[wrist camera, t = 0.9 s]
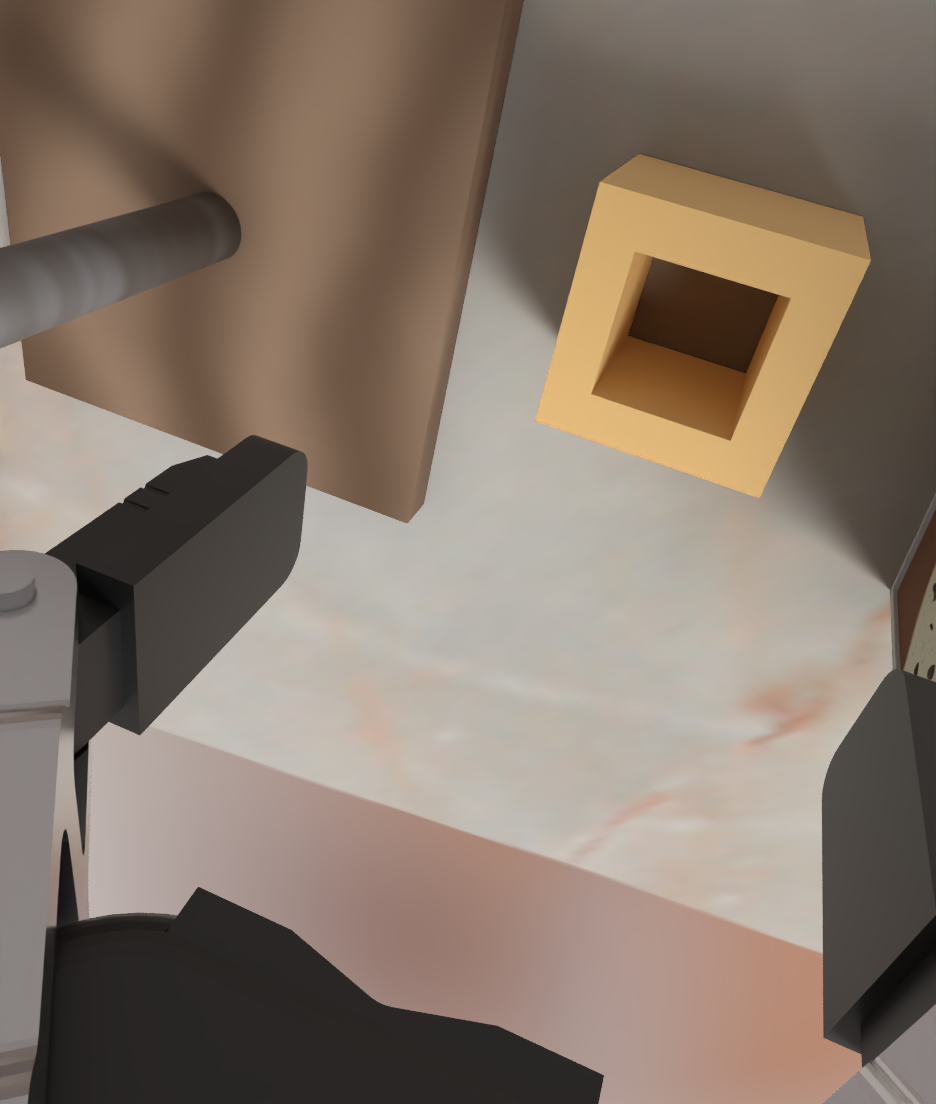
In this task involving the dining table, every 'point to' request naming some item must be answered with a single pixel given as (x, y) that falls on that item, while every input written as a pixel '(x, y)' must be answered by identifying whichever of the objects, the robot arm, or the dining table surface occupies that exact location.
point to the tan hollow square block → (682, 380)
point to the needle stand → (252, 217)
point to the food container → (916, 603)
